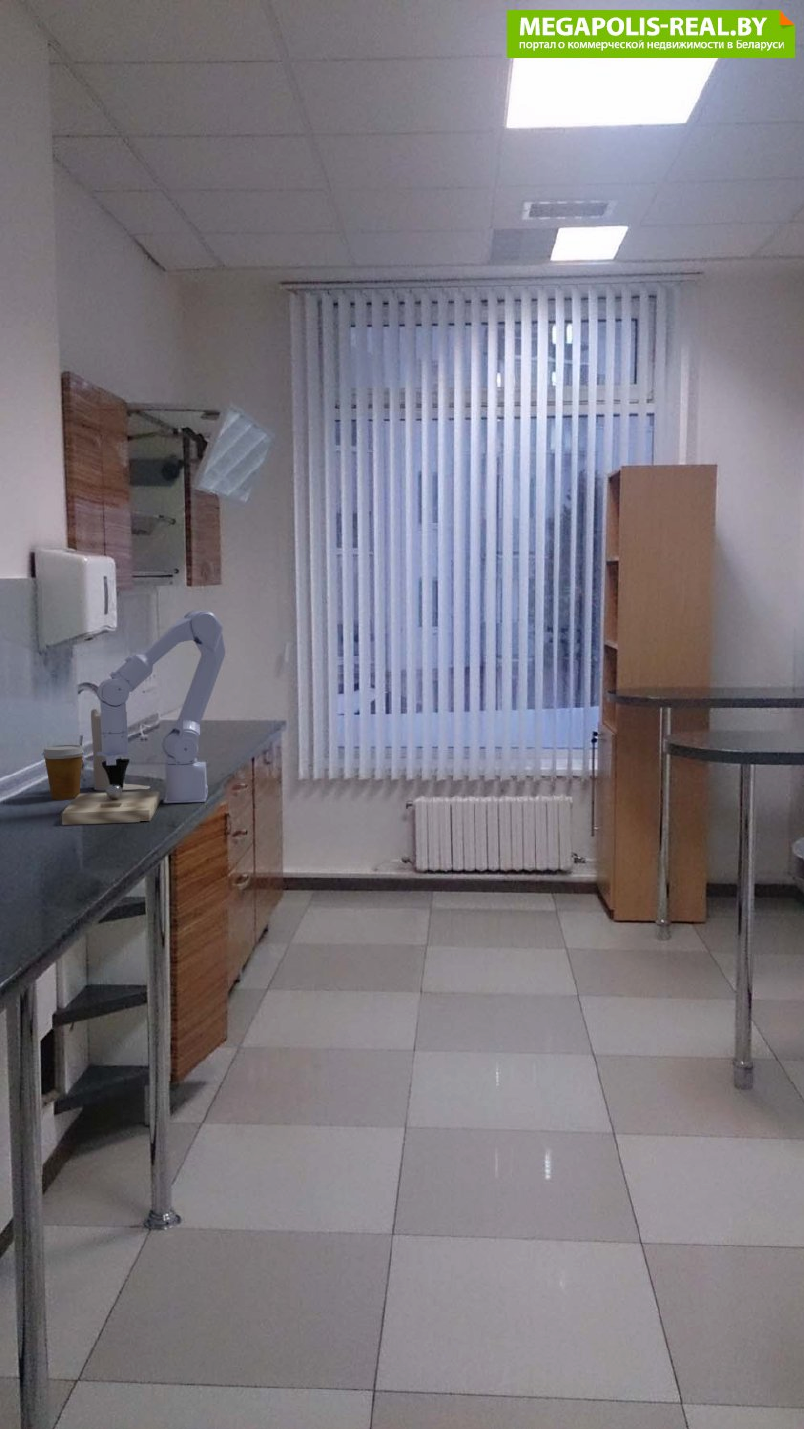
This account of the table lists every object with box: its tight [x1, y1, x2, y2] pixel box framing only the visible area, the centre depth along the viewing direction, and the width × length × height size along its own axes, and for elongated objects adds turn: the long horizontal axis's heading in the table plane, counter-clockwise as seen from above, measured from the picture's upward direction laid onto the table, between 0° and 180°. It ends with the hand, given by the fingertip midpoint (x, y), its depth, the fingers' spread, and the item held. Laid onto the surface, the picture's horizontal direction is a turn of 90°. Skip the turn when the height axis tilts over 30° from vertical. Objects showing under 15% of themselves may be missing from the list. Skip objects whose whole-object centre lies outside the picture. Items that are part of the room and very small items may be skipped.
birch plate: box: [61, 790, 161, 826], centre depth 250 cm, size 18×22×2 cm
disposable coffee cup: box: [41, 744, 85, 801], centre depth 269 cm, size 10×10×12 cm
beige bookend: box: [90, 708, 151, 792], centre depth 279 cm, size 7×14×20 cm, turn 88°
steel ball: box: [105, 784, 123, 800], centre depth 252 cm, size 4×4×4 cm
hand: (117, 792), depth 257 cm, fingers closed
